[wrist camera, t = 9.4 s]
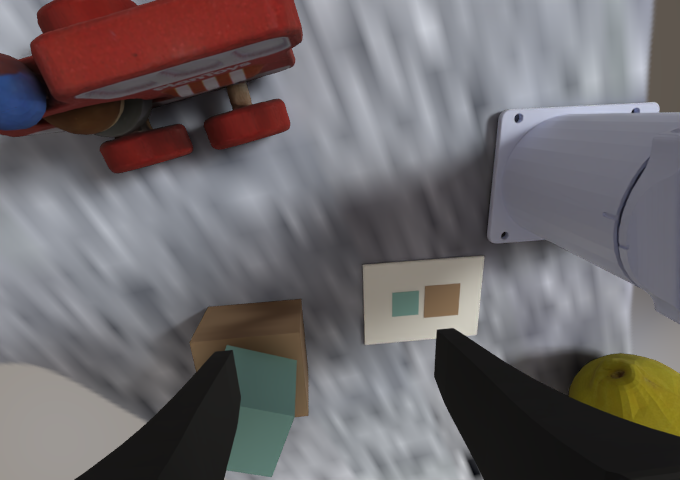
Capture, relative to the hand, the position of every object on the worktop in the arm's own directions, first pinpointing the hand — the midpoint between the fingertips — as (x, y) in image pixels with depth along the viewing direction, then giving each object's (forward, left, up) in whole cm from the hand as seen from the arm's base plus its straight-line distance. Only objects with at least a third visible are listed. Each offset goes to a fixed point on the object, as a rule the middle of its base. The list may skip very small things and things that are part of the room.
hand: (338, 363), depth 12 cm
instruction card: (-6, +4, -10) cm, 13 cm away
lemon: (-20, +12, -11) cm, 26 cm away
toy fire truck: (+7, -10, -11) cm, 16 cm away
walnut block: (+5, +6, -11) cm, 13 cm away
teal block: (+5, +6, -7) cm, 10 cm away
